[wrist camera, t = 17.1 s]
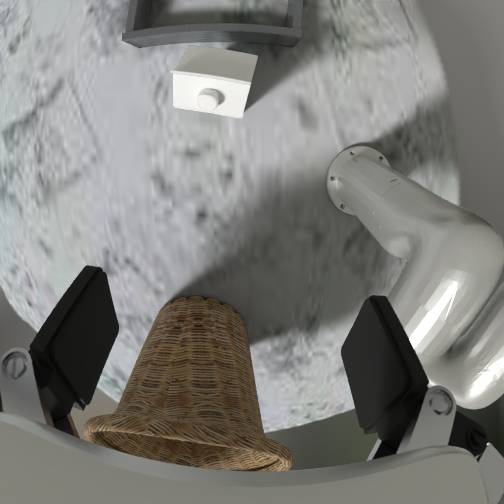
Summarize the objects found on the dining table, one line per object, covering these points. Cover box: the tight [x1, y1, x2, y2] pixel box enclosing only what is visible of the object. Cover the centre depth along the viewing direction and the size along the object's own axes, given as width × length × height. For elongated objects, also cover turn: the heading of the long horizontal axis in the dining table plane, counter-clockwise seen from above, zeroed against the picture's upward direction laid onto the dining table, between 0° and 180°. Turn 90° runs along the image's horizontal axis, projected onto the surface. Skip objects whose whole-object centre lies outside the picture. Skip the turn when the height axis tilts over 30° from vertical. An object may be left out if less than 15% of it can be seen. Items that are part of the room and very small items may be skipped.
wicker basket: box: [83, 296, 293, 472], centre depth 47 cm, size 35×35×33 cm
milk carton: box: [171, 45, 258, 118], centre depth 27 cm, size 7×7×19 cm
